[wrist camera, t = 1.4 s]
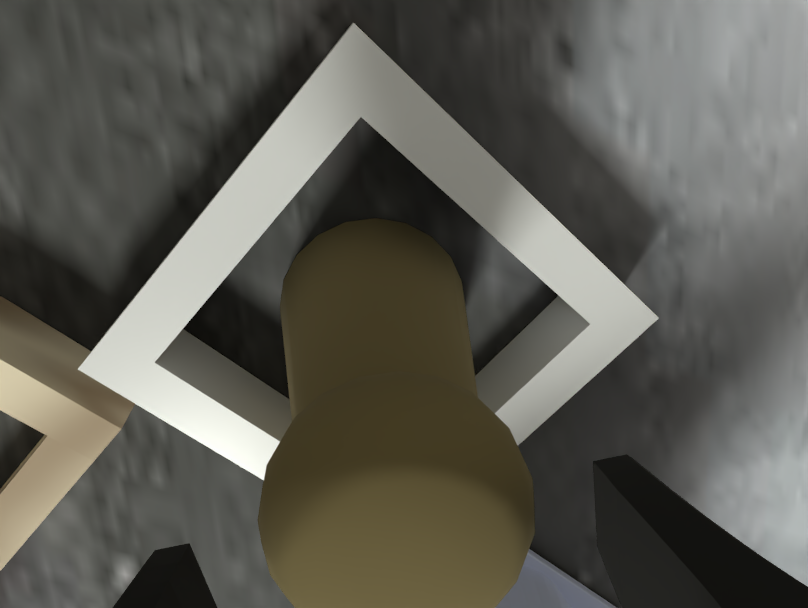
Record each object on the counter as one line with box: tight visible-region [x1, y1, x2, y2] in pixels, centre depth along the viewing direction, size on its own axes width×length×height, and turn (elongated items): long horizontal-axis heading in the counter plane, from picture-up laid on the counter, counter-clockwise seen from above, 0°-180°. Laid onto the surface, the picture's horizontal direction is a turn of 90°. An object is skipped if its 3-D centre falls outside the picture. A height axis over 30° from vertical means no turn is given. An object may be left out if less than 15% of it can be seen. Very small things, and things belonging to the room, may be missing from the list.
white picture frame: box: [78, 23, 659, 480], centre depth 19 cm, size 12×12×2 cm
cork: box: [258, 218, 535, 608], centre depth 15 cm, size 6×6×11 cm
